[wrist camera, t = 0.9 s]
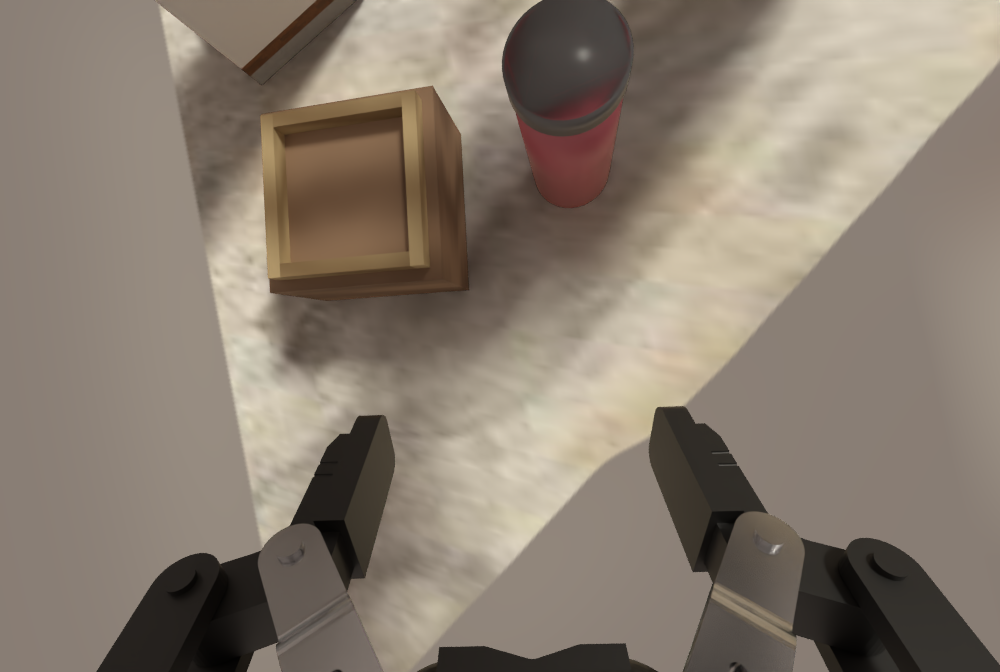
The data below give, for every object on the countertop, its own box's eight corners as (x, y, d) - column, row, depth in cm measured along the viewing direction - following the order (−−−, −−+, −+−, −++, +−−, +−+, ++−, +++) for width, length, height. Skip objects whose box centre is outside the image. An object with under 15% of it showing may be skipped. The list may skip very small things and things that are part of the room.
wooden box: (319, 154, 32) (249, 105, 25) (460, 134, 30) (426, 75, 24) (326, 300, 32) (258, 291, 25) (469, 290, 30) (436, 276, 23)
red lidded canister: (530, 137, 30) (498, 5, 18) (608, 127, 29) (629, -21, 17) (534, 213, 29) (505, 131, 18) (613, 205, 29) (637, 112, 17)
